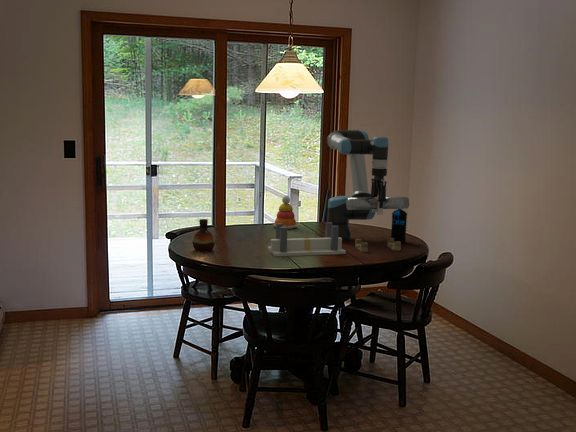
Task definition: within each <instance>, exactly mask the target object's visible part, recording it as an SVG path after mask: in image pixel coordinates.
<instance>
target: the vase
mask: <svg viewBox="0 0 576 432" xmlns="http://www.w3.org/2000/svg"><path fill="white" fill-rule="evenodd" d="M198 221H199V230H197V231H195V233H194V234H193V237H192V239H191V240H192V241H191V242H192V243H191V244H192V246H193V247H192V248H193V249H194V251H196V252H198V251H200V252H199V253H207V252H206V251H209V252H212V251H213V249H214V248H215V244H216V238H215V236H214V234H213V232H211V231H210V230H209V229H208V224H209V221H208V218H207V219H206V218H201V219H199V220H198Z"/></svg>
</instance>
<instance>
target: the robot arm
mask: <svg viewBox="0 0 576 432" xmlns="http://www.w3.org/2000/svg"><path fill="white" fill-rule="evenodd" d="M326 144H327V146H328V147H329V148H330V149H332V150H334V151H335V150H336V151H338V152H339V154H340V155H347V156H348V157H349V165H350V172H351V173H350V174H351V181H352V183H351V184H352V195H351V197H350V196H349V195H338V196H333V197H331V198H329V199H328V202H327V222H332V223H333V226H339V230H338V237H341V238H342V242H346V241H350V240H352V233H351V229H350V226H349V222H350V220H351V221H359V220H360V221H363V220H364V221H367V220H372V219H374V218H375V216H376V213H377V215H383V214H384V209H383V202H384V201H386V197H387V196H386V195H387V192H386V191H387V183H388V182H387V181H386V180H385V177H386V176H388V175H387V174H388V168H387V167H388V158H389V157H388V155H389V154H388V153H389V138H388V137H387V136H374V137H373V139H370V138H369V133H367V132H366V131H365V130H360V129H353V130H352V129H338V130H334V131H332V132H330V133H329V135H328V136H327V138H326ZM365 155H372V158H371V159H372V161H371V165H372V168H371V175H372V176H374V178H371V188H370V190H369V182H368V172H367V167H366V166H367V165H366V158H365ZM369 191H370V192H369ZM371 197H378V198H379V200H378V201H377V202H378V207H377V209H364V210H348V209H347V207H346V200H347V198H371ZM325 231H326V229H325V230H324V233H323V238H325Z"/></svg>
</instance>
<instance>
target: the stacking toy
mask: <svg viewBox="0 0 576 432" xmlns="http://www.w3.org/2000/svg"><path fill="white" fill-rule="evenodd" d="M281 200H282V201H281V202H282V204H280V206H279V207H278V211H277V213H276V218H275V220H274V223H273V226H274V227H275V228H276V224H278V223H282V224H283V227H287V230H291V229H295V228H297V226H298V223H297V221H296V218H295V213H294V211H293V210H294V209H293V206H292V205H291V204H290V201H291V198H290V196H289V195H283V197H282V199H281Z"/></svg>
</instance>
